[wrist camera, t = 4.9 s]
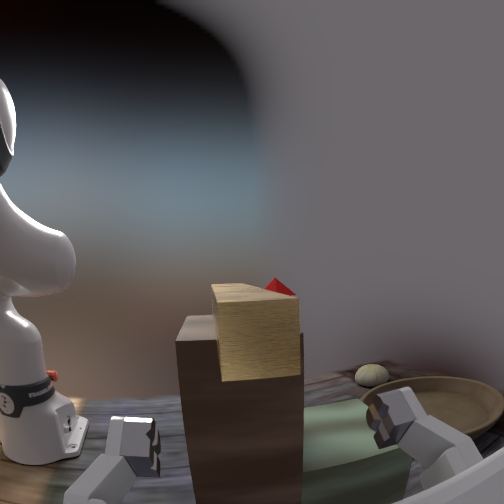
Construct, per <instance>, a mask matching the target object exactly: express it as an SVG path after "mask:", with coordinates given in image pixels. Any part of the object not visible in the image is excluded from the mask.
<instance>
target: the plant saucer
mask: <svg viewBox="0 0 504 504" xmlns="http://www.w3.org/2000/svg"><path fill="white" fill-rule="evenodd" d="M404 387H410V388H411V389H412V391H413V392H414V394H415V396H416V397H417V399H418V401H419V402H420V404H421V406H422V407H423V409H424V411H425V412H426V414H427V416H428V415H431V416H433V417H435V418H437V419H438V420H440V421H442V422H444V423H445V424H447V425H449V426H451V427H453V428H454V429H456V430H458V431H460V432H461V433H463V434H465V435H467V436H469V437H471V439H472V441H473V440H475V439H477V438H478V437H480V436H481V435H482V434H483V433H485V432H486V431H488V430H489V429H490V428H491V427H492V426H493V425H494V424H495V423H496V422H497V421H498V420H499V418H500V417H501V416H502V414H503V412H504V397H503V396H502V394H501V393H500V392H499V391H498V390H496V389H495V388H493V387H491V386H489V385H487V384H484V383H482V382H478V381H474V380H470V379H464V378H457V377H443V376H431V377H415V378H407V379H401V380H396V381H392V382H388V383H385V384H382V385H379V386H377V387H375V388H373V389H371V390H369V391H368V392H367V393H365V394H364V395H363V396H362V397H361V399H360V401H362V402H363V403H364V404H365V405H367V406H368V407H369V406H370V405H372V404H373V402H372V399H373V397H374V396H375V395H377V394H381V393H385V392H388V391H392V390H396V389H400V388H404Z"/></svg>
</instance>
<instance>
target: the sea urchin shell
mask: <svg viewBox="0 0 504 504" xmlns="http://www.w3.org/2000/svg"><path fill="white" fill-rule="evenodd" d="M388 379H389V374H388V372H387V370H386V369H385V368H384V367H382V366H379V365H374V364H370V365H365V366H363V367H361V368H360V369H359V370H358V371H357V373H356V375H355V380H356V383H358V384H359V385H362V386H367V387H375V386H379V385H382V384H384V383H386V382H387V381H388Z"/></svg>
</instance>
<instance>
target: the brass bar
mask: <svg viewBox="0 0 504 504" xmlns="http://www.w3.org/2000/svg"><path fill="white" fill-rule="evenodd" d="M211 287H212V310H213V321H214V328H215V336H216V343H217V350H218V358H219V365H220V371H221V378H222V381H239V380H252V379H264V378H274V377H284V376H293V375H300V324H299V323H300V322H299V298H297V297H293V296H289V295H285V294H281V293H277V292H273V291H269V290H266V289H262V288H258V287H254V286H250V285H246V284H243V283H237V284H212V285H211Z"/></svg>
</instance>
